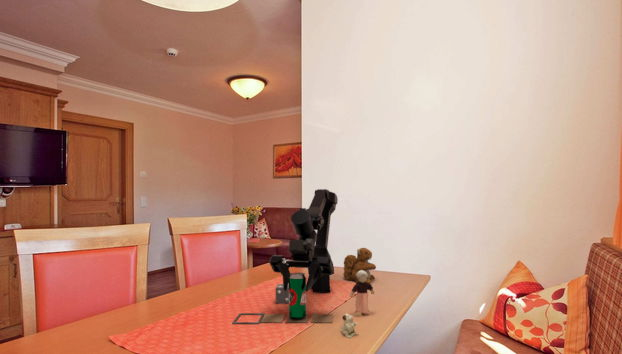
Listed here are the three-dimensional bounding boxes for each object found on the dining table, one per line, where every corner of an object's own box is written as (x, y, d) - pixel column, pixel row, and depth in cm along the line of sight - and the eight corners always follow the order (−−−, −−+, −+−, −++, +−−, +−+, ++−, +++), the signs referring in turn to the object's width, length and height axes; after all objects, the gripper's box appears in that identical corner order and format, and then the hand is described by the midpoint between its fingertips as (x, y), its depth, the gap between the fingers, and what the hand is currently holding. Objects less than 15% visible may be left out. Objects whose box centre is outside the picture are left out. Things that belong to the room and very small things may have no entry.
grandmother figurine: (356, 318, 94) (355, 273, 95) (348, 314, 98) (347, 270, 99) (378, 313, 98) (376, 269, 99) (370, 309, 101) (368, 267, 102)
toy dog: (350, 339, 81) (349, 318, 82) (337, 332, 85) (336, 312, 86) (360, 335, 83) (360, 314, 84) (347, 329, 87) (347, 309, 88)
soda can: (304, 319, 93) (304, 275, 94) (287, 319, 93) (286, 275, 95) (307, 314, 98) (307, 272, 99) (290, 314, 98) (290, 272, 100)
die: (292, 298, 114) (292, 283, 114) (290, 303, 109) (290, 287, 109) (278, 298, 114) (277, 283, 114) (275, 303, 109) (275, 287, 109)
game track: (332, 314, 98) (332, 313, 98) (332, 324, 91) (332, 323, 91) (239, 314, 100) (239, 313, 100) (232, 324, 92) (232, 323, 92)
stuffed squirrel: (371, 285, 129) (370, 250, 129) (337, 281, 135) (337, 248, 136) (379, 279, 138) (378, 246, 138) (347, 275, 144) (346, 245, 145)
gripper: (270, 228, 103) (256, 273, 91) (330, 229, 98) (322, 276, 87) (280, 250, 110) (267, 294, 99) (336, 251, 105) (329, 298, 94)
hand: (295, 290), depth 94 cm, fingers open, 6 cm apart
